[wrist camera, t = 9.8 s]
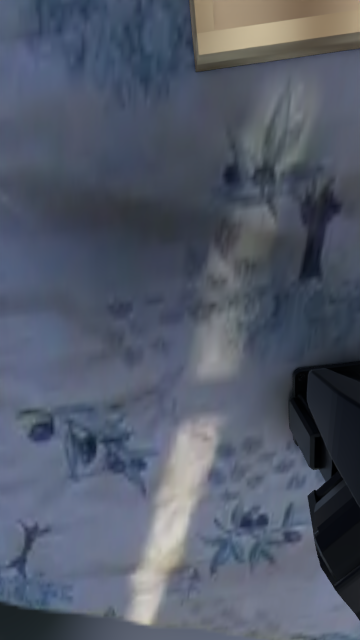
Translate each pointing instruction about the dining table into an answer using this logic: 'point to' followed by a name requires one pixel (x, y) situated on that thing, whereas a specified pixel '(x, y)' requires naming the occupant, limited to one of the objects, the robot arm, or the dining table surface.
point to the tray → (270, 30)
